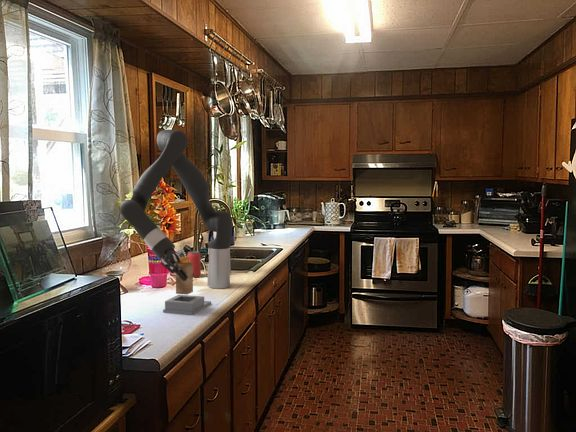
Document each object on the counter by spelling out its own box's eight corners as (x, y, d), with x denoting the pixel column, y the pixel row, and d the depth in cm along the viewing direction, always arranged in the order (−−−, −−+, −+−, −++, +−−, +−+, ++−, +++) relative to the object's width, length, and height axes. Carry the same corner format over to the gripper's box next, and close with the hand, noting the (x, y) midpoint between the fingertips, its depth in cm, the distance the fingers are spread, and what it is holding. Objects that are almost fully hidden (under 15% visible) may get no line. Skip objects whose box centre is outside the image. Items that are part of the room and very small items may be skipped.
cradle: (163, 312, 184) (162, 301, 184) (183, 301, 200) (183, 291, 199) (192, 315, 181) (192, 303, 181) (211, 303, 197) (211, 293, 196)
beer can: (185, 275, 248) (185, 251, 247) (199, 274, 251) (199, 250, 250) (188, 278, 242) (187, 253, 241) (202, 277, 245) (201, 252, 244)
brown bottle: (176, 293, 186) (175, 258, 185) (181, 290, 190) (181, 256, 189) (187, 294, 185) (187, 258, 184) (192, 291, 189) (192, 256, 188)
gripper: (155, 239, 181) (187, 275, 179) (175, 234, 195) (204, 267, 193) (142, 253, 183) (173, 288, 181) (162, 247, 197) (191, 280, 194)
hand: (189, 277), depth 187 cm, fingers closed on brown bottle, 4 cm apart
